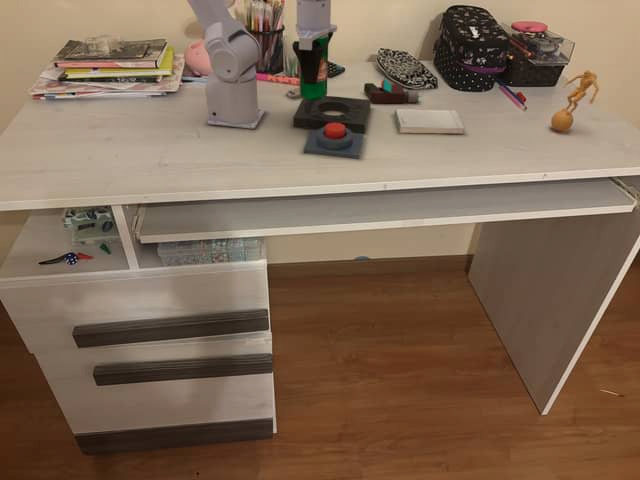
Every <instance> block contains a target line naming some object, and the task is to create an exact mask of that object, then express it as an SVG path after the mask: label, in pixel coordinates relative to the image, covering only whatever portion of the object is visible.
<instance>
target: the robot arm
mask: <svg viewBox="0 0 640 480" xmlns="http://www.w3.org/2000/svg"><path fill="white" fill-rule="evenodd" d="M186 1H187V3H188V5H189V6H190V8H191V10H192V12H193V14H194V15H195V17H196V18H197V20H198V21H199V23H200V25H201V27H202V29H203V30H204V33H205V35H204V41H203V42H204V43H203V47H204V50H205V51H206V53H207V56H208V58H209V64H210V68H211V70H212V72H210V73H209V74H208V75H207V78H206V81H205V98H206V107H207V116H208V121H207V124H208V125H210V126H211V125H212V126H220V127H221V126H222V127H233V128H240V129H250V130H251V129H256V128H257V126H258V124H259V122H260V121H261V119H262V118H263V116H264V114H265V110H264V109H259V99H258V98H259V97H258V81H257V80H258V78H257V70H256V64H257V63H258V61H259V60H260V58H261V52H262V51H261V45H260V43H259V41H258V39H257V38H256V37H255V36H254V35H252V34H251V33H250V32H249V31H248V30H247V28H246V27H245V25H244V24H243V22H241V21H240V20H238V19H236V18H235V17H233V16H232V14H231V13H230V11H229V10H228V7H227V5H226V4H225V2H224V1H223V0H186ZM331 13H332V0H296V23H295V31H296V33H297V36H298V40H294V41H293V42H292V45H291V46H292V51H293V53H294V54H295V56H296V58H297V60H298V61H297V62H298V65H299V64H300V67H301V72H302V76H303V80H304V84H311V85H316V83H317V79H318V74H319V67H320V62H321V58H322V55H323V53H324V51H325V49H326V47H327V45H317V43H315V39H317V38H319V37H321V36H323V35H325V34H328V46H329V45H330V42H331V39H332V38H333V36H334V33H336V32H337V31H338V25H337V24H332V23H331V17H332V15H331Z"/></svg>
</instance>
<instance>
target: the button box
mask: <svg viewBox="0 0 640 480" xmlns="http://www.w3.org/2000/svg"><path fill="white" fill-rule="evenodd" d="M364 137H365V134H359V133H352V132H351V130H350V129H347V128H345V137H344V138H341V139H330V138H328V137H326V136H325V127H323V128H321V129H311V130H310V132H309V135H308V138H307V140H306V142H305V145H304V148H303V153H304V154H308V155H317V156H318V155H319V156H327V157H335V158H345V159H354V160H355V159H356V160H359V159H360V156H361V152H362V147H363V142H364Z"/></svg>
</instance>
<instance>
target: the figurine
mask: <svg viewBox="0 0 640 480" xmlns="http://www.w3.org/2000/svg"><path fill="white" fill-rule="evenodd" d="M597 78H598V76H597V74H596V73H595V72H591V71H590V70H589V69H587V70H585V71H584V72H583V74H578V75H575V77H573V78H572V79H570V80H569V81H567V82H566V83H565V84H564V86H563V87H562V89H565V87H566V86H567V85H569V84H571V83H573V82H574V81H576V80H577V79H580V81H579V82H580V83H579V86H577V87H575V88H574V90H573V91H572V92H571V93H570V94H568V95H567V96H566V97H567V98H566V99H567V102H568V105H567V106H566V107H565V108H563V109H561V110H558V111H557V112H555V113H554V114H553V115H552V117H551V120H550V121H551V122H550V124H551V126H552V128H553V129H554V130H555V131H557V132H565V131H567V130H569V129H570V128H571V127H572V126H573V124H574V116H573V114H572V113H573V112H574V111H575V110H576V109H577V107H579V103H578V102H579V101H581V100H582V99H583V98H584V97H586V95H587V92H586V91H587V89H589V87H591V86H592V85H593V86H594V88H595V90H594V91H593V94H592V97H591V98H590V99H589V101H588V104H589V105H592V104H593V103H594V100H595V98H596V96H597V94H598V92H599V90H600V87H599V84H598V82H597ZM571 106H573V108H571ZM570 108H571V109H570ZM569 109H570V110H569ZM568 110H569V111H568Z"/></svg>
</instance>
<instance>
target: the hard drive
mask: <svg viewBox="0 0 640 480" xmlns="http://www.w3.org/2000/svg"><path fill="white" fill-rule="evenodd" d="M393 114H394V119H395V123H396V127H397V130H398V132H399V134H400V133H404V134H405V133H407V134H461V135H463V134H464V132H465V126H464V124H463V122H462V120H461V119H460V116H459V114H458V113H457V111H456V110H444V109H443V110H440V109H409V108H408V109H407V108H406V109H405V108H403V109H402V108H395V109H394V113H393Z"/></svg>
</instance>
